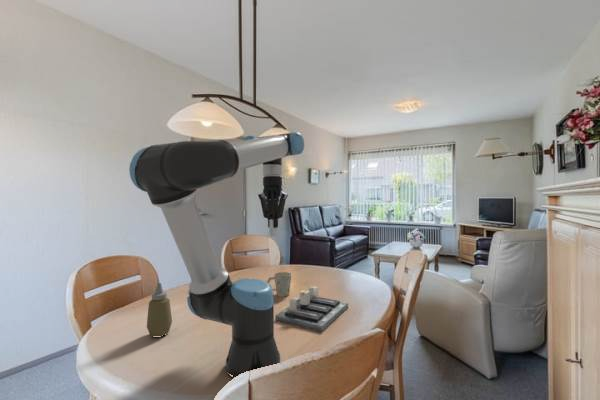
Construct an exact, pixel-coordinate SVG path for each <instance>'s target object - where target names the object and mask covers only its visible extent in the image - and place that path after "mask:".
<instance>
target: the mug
mask: <svg viewBox="0 0 600 400" xmlns="http://www.w3.org/2000/svg"><path fill="white" fill-rule="evenodd" d="M272 280H274V283H275V288H272V289H273V292H274V291H276V296H277V297H288V296H289V295H290V291H291V290H290V289H291V282H292V273H291V272H287V271H280V272H276V273H274V275H273V276H270V277H269V278H268V279H267V281H266V282H267V283H268V284H269V285H270V282H271V281H272Z"/></svg>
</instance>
